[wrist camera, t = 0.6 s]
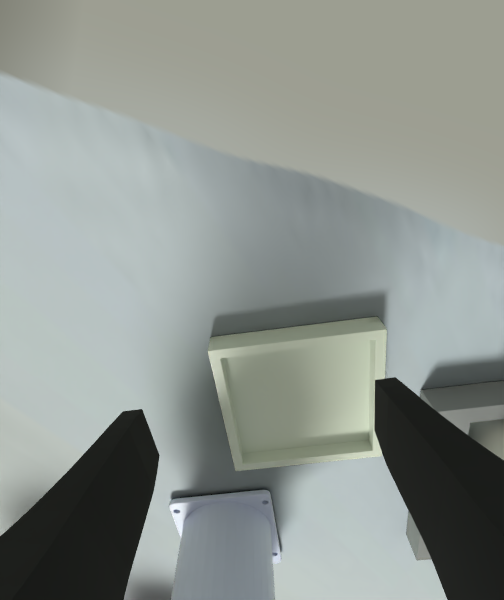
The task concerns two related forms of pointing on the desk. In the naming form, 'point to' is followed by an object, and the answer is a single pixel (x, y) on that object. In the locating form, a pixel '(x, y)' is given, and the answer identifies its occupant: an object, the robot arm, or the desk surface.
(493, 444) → the grey cylinder
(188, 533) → the robot arm
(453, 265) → the desk surface
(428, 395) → the housing
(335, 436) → the tray
